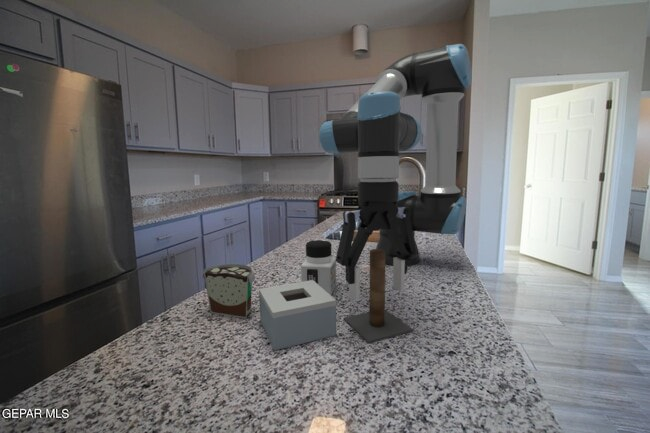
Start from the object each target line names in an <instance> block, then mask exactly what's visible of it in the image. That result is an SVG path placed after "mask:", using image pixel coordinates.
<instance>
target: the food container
mask: <svg viewBox="0 0 650 433" xmlns="http://www.w3.org/2000/svg"><path fill="white" fill-rule="evenodd" d="M201 276H202V279H204V281H205V286H206V287H205V288H206V293H207V295H206V296H207V300H208V306H209V312H210V314H216V315H222V316H228V317H232V318H233V317H235V318H239V319H248V318H249V317H250V315H251V313H252V293H253V292H252V290H253V289H252V287H253V285H252V284H253V283H254V281H255V279H256V276H255V273H254V270H253V269H252V267H251V266H250V265H247V264H242V263H225V264H218V265H213V266H210V267H206V268H204V269H203V271H202V275H201Z"/></svg>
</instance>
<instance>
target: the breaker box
mask: <svg viewBox="0 0 650 433" xmlns="http://www.w3.org/2000/svg"><path fill="white" fill-rule="evenodd" d="M258 301H259V302H258V303H259V318H260V323H261V325H262V327H263V330H264V332H265V333H266V336H267V338H268V340H269V342H270V344H271V346H272V349H273V350H274V351H278V350H282V349H285V348H291V347H296V346H298V345H303V344H307V343H310V342H314V341H315V342H316V341H318V340H323V339H326V338H331V337H335V336H337V299H336V298H334V297H333V296H332V295H329V294H328V293H327V292H326V291H325V290H324V289H323V288H321V287H320V286H319V285H318V284H317V283H316V282H315V281H314V280H310V281H304V282H301V281H299V282H298V281H297V282H292V283H287V284H281V285H275V286H269V287H263V288H258Z"/></svg>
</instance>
